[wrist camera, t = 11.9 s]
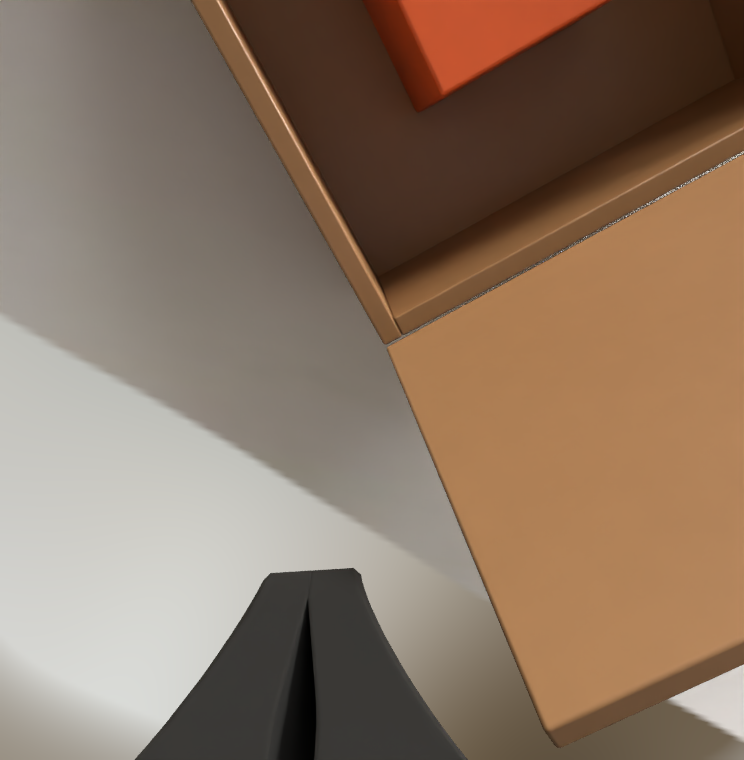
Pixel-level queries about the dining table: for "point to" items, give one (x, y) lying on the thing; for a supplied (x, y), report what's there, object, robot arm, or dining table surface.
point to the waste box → (482, 137)
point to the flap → (603, 455)
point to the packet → (464, 37)
